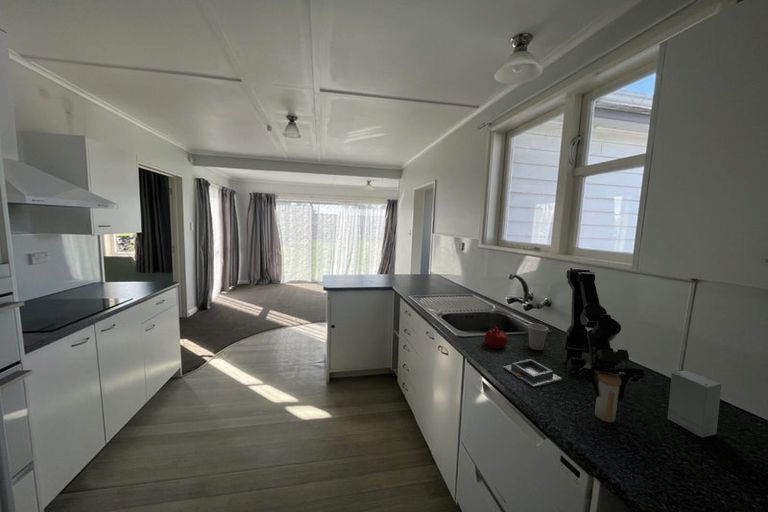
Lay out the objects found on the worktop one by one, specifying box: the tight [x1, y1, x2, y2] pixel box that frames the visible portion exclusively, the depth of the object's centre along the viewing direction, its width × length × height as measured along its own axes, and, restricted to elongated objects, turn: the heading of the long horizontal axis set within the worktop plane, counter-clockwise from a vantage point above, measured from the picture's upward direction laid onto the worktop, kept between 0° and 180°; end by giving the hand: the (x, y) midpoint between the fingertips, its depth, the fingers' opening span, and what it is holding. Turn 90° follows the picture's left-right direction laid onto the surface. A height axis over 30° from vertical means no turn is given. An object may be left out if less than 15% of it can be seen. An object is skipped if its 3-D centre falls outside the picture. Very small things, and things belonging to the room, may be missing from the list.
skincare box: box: [667, 370, 722, 438], centre depth 81 cm, size 8×6×15 cm
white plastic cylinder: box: [594, 372, 621, 423], centre depth 84 cm, size 6×5×12 cm
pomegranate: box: [484, 326, 509, 349], centre depth 131 cm, size 10×10×9 cm
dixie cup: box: [527, 322, 549, 351], centre depth 130 cm, size 8×8×10 cm
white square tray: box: [502, 358, 563, 388], centre depth 108 cm, size 14×14×3 cm
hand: (609, 398), depth 83 cm, fingers open, 5 cm apart
